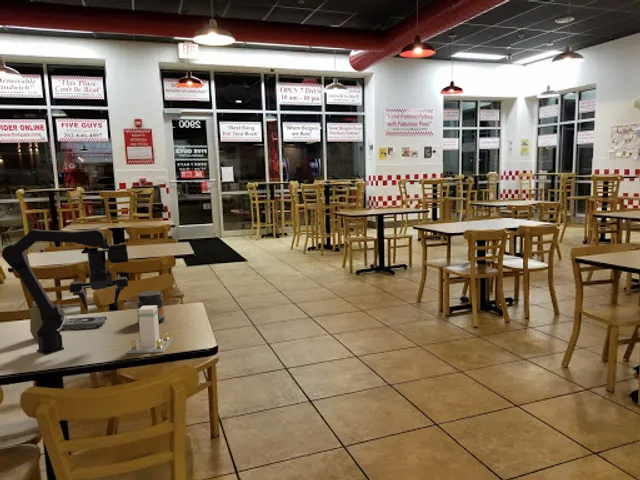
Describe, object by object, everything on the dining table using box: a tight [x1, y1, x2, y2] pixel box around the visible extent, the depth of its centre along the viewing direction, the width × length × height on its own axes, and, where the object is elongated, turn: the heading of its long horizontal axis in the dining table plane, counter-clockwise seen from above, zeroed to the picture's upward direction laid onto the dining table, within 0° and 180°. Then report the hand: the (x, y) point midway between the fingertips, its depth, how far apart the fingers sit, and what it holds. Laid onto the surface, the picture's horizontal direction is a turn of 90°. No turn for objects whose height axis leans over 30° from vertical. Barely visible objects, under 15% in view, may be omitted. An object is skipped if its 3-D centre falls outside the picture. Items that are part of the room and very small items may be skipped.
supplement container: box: [136, 290, 166, 324], centre depth 204 cm, size 10×10×12 cm
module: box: [137, 305, 161, 346], centre depth 174 cm, size 5×5×13 cm
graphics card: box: [57, 316, 108, 332], centre depth 201 cm, size 17×4×12 cm
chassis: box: [126, 331, 173, 354], centre depth 175 cm, size 12×12×4 cm
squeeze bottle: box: [29, 300, 43, 341], centre depth 186 cm, size 8×8×18 cm
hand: (101, 308), depth 178 cm, fingers open, 9 cm apart
